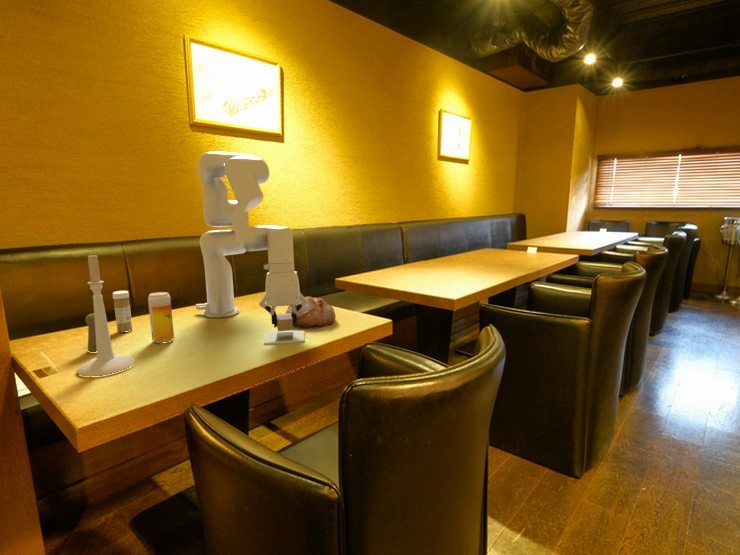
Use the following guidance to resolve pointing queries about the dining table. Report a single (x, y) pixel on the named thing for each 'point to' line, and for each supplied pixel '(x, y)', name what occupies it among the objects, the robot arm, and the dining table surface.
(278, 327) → the brown rectangular block
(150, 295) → the beer can
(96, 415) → the dining table surface
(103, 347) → the candlestick
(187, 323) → the dining table surface
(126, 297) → the sprinkles bottle
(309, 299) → the bread
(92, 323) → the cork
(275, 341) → the mat
